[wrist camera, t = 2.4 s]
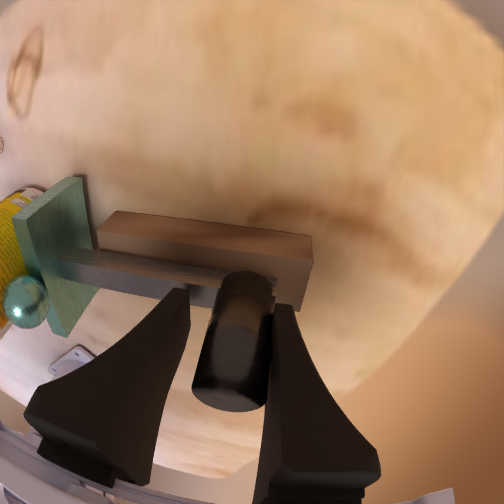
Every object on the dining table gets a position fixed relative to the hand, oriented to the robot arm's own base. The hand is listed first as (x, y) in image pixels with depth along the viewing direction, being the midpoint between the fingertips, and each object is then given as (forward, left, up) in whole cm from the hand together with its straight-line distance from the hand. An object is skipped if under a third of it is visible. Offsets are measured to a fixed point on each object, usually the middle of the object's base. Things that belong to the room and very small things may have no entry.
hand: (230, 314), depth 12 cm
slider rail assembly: (-3, +3, -4) cm, 6 cm away
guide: (-1, +1, -4) cm, 5 cm away
